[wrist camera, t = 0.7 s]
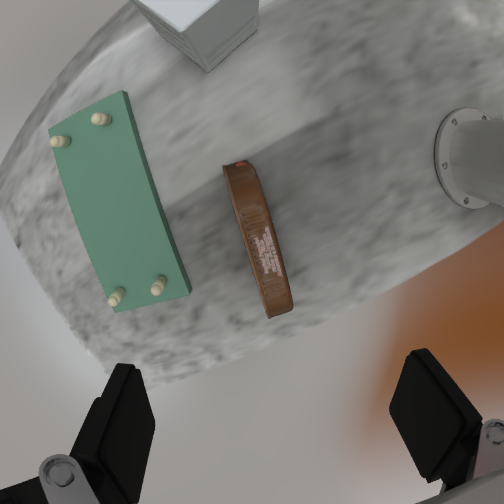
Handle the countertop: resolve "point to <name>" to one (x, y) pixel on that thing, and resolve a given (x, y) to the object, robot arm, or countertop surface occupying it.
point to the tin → (259, 237)
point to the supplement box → (202, 25)
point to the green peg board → (118, 205)
